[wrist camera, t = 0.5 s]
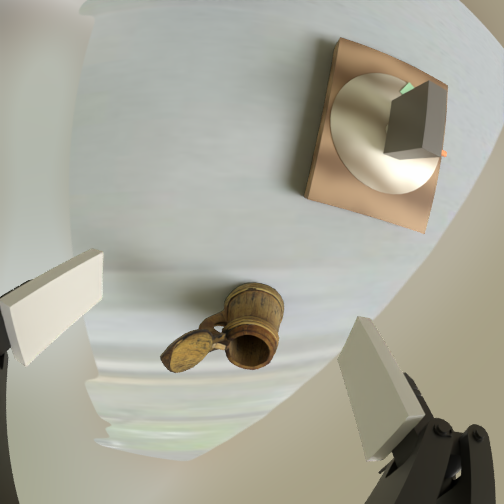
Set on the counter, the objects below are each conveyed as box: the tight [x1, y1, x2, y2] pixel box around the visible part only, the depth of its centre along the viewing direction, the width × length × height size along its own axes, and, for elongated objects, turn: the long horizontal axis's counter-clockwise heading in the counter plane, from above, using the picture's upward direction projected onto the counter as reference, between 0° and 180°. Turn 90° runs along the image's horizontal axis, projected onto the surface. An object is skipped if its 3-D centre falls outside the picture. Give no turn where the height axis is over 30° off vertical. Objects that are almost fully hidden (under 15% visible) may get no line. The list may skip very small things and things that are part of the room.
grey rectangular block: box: [383, 80, 447, 160], centre depth 24 cm, size 8×10×11 cm
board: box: [304, 37, 448, 234], centre depth 31 cm, size 24×18×4 cm
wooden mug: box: [160, 283, 284, 373], centre depth 33 cm, size 9×14×18 cm, turn 69°
